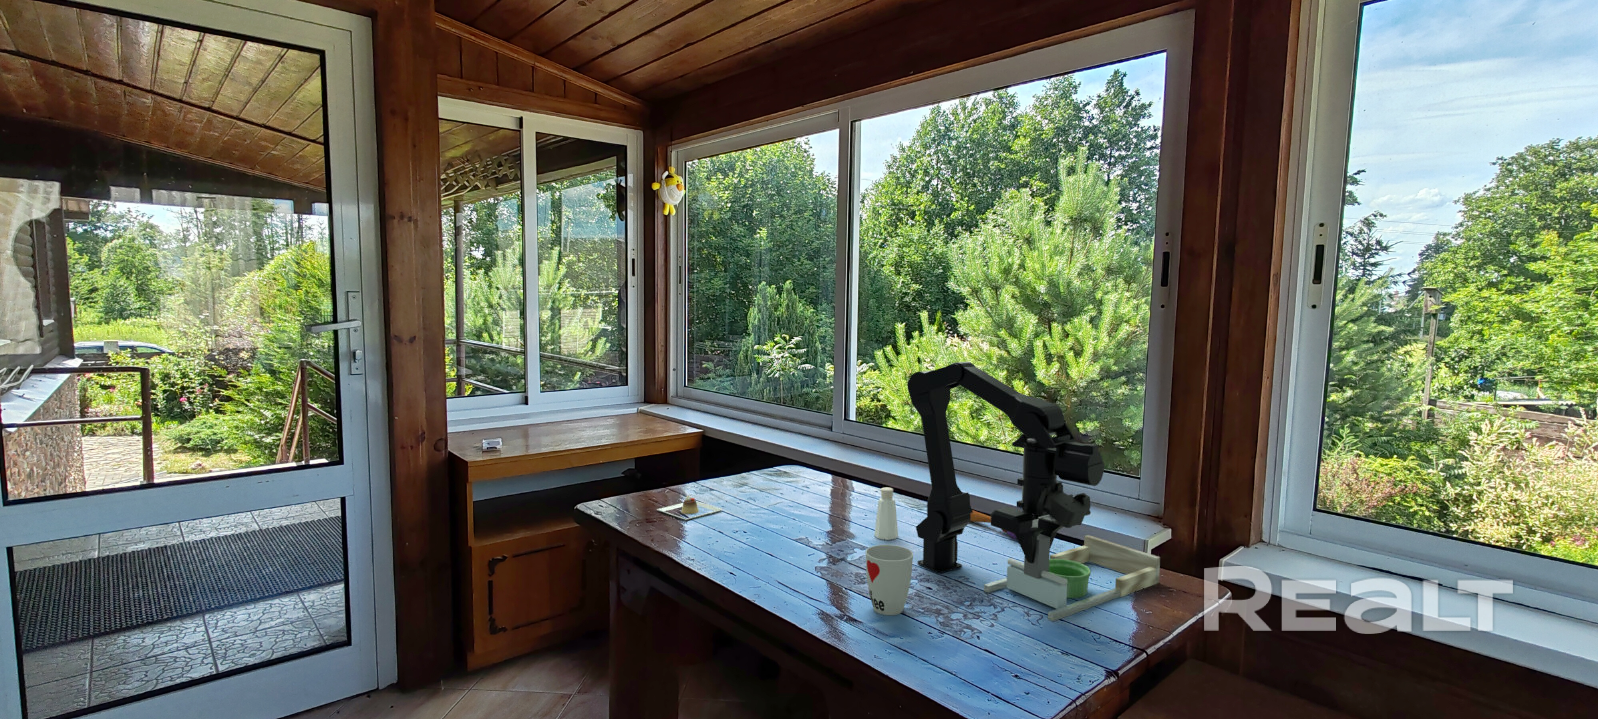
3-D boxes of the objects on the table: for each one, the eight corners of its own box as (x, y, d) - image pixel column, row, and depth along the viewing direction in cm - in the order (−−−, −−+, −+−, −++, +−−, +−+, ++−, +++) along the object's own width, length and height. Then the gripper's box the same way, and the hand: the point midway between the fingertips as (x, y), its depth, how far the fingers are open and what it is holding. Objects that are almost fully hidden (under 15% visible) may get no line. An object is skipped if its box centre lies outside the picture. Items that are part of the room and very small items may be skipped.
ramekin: (1029, 590, 132) (1030, 567, 131) (1050, 577, 138) (1051, 555, 138) (1078, 604, 126) (1079, 580, 125) (1097, 589, 132) (1098, 566, 132)
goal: (1054, 621, 118) (1055, 592, 118) (983, 590, 131) (983, 563, 131) (1158, 582, 136) (1160, 557, 135) (1087, 558, 148) (1088, 534, 148)
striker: (1058, 610, 122) (1061, 547, 121) (1003, 586, 132) (1005, 528, 131) (1069, 606, 123) (1072, 544, 123) (1014, 583, 133) (1016, 525, 133)
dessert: (723, 513, 180) (723, 494, 180) (685, 523, 172) (685, 504, 171) (694, 504, 188) (694, 486, 188) (656, 513, 180) (656, 494, 179)
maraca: (971, 501, 177) (1039, 515, 161) (969, 525, 176) (1037, 542, 160) (954, 500, 174) (1022, 514, 157) (952, 525, 173) (1020, 542, 157)
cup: (861, 599, 127) (861, 544, 126) (905, 598, 127) (906, 543, 127) (869, 619, 119) (870, 561, 118) (917, 618, 119) (918, 560, 119)
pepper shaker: (899, 540, 159) (900, 491, 158) (875, 539, 159) (876, 491, 158) (896, 532, 164) (897, 485, 164) (873, 532, 165) (874, 485, 164)
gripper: (1043, 492, 114) (1040, 587, 115) (1112, 477, 124) (1109, 564, 126) (989, 477, 123) (987, 565, 125) (1058, 465, 134) (1055, 546, 135)
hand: (1036, 560), depth 127 cm, fingers closed on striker, 3 cm apart
